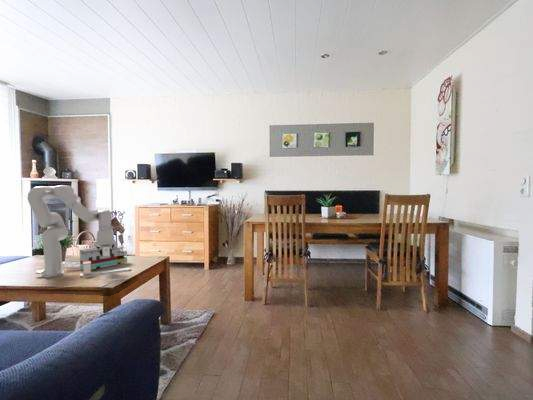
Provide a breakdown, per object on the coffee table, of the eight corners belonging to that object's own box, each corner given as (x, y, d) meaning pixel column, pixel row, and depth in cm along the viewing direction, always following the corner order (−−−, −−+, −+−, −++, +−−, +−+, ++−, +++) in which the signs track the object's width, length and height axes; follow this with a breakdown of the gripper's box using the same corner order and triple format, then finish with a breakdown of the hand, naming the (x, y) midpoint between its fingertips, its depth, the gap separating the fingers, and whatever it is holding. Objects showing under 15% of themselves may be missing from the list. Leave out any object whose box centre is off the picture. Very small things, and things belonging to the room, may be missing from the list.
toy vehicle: (127, 264, 233) (127, 244, 233) (85, 272, 209) (84, 251, 209) (122, 262, 238) (122, 243, 238) (80, 270, 214) (79, 249, 214)
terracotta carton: (83, 276, 196) (82, 264, 196) (83, 274, 202) (82, 262, 202) (91, 275, 199) (91, 263, 199) (90, 273, 204) (90, 261, 204)
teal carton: (102, 258, 202) (102, 246, 202) (101, 256, 208) (101, 245, 207) (110, 257, 204) (109, 245, 204) (109, 255, 210) (108, 244, 210)
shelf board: (80, 279, 193) (80, 276, 193) (79, 275, 203) (79, 272, 203) (131, 272, 209) (131, 269, 209) (128, 268, 219) (128, 266, 218)
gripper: (118, 227, 213) (119, 252, 214) (90, 228, 204) (91, 255, 205) (119, 228, 207) (120, 254, 207) (90, 230, 198) (91, 257, 198)
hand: (105, 255), depth 206 cm, fingers closed on teal carton, 4 cm apart
